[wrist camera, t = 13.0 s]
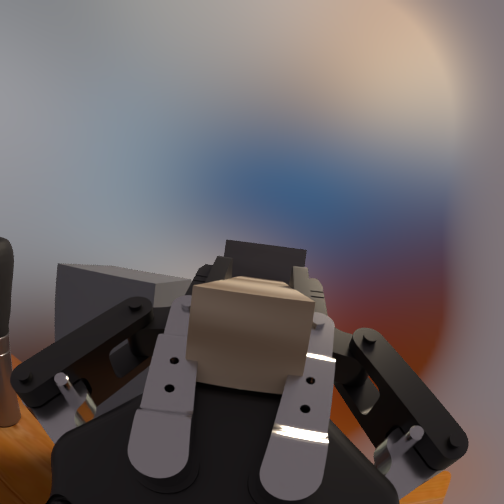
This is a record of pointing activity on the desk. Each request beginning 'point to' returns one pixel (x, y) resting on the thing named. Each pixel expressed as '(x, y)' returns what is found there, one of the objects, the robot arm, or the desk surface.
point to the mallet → (251, 321)
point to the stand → (109, 306)
